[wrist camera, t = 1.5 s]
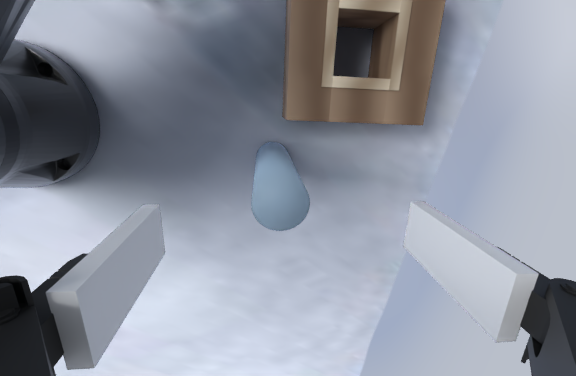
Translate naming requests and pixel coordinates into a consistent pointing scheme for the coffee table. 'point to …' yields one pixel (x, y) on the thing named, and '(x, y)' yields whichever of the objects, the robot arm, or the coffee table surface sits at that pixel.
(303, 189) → the peg
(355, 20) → the socket block
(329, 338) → the coffee table surface
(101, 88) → the coffee table surface
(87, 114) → the robot arm
